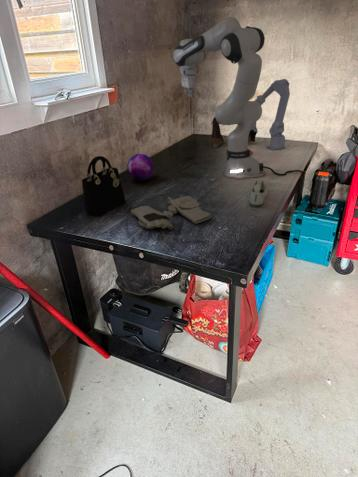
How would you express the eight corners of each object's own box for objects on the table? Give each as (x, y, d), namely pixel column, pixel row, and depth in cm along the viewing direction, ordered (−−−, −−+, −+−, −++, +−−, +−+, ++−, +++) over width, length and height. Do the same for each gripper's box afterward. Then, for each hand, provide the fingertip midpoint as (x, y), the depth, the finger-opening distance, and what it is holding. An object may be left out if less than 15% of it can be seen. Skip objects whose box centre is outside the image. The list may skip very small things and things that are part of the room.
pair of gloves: (147, 237, 131) (146, 225, 129) (129, 213, 152) (128, 202, 149) (214, 220, 141) (214, 209, 138) (188, 199, 162) (188, 189, 159)
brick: (253, 141, 248) (253, 135, 245) (255, 142, 244) (255, 136, 242) (246, 141, 247) (247, 135, 245) (249, 143, 244) (249, 136, 241)
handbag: (98, 217, 149) (87, 164, 137) (84, 214, 154) (72, 161, 141) (127, 201, 164) (120, 151, 152) (113, 198, 169) (105, 149, 156)
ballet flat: (269, 188, 169) (270, 173, 165) (265, 208, 149) (266, 191, 145) (252, 187, 171) (253, 172, 167) (246, 206, 151) (247, 190, 147)
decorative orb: (160, 177, 192) (157, 152, 184) (144, 186, 181) (141, 159, 174) (139, 174, 199) (137, 149, 192) (123, 182, 189) (119, 156, 181)
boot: (224, 140, 260) (225, 113, 250) (221, 148, 240) (222, 119, 230) (213, 140, 262) (213, 113, 252) (210, 148, 242) (209, 119, 232)
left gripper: (178, 70, 202) (179, 94, 209) (186, 72, 185) (187, 98, 192) (188, 69, 203) (189, 93, 210) (197, 71, 186) (197, 97, 193)
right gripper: (243, 119, 244) (242, 138, 250) (251, 123, 231) (250, 142, 238) (252, 118, 245) (251, 137, 252) (260, 122, 232) (259, 141, 239)
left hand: (188, 96), depth 201 cm, fingers open, 8 cm apart
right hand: (251, 139), depth 245 cm, fingers closed on brick, 4 cm apart
